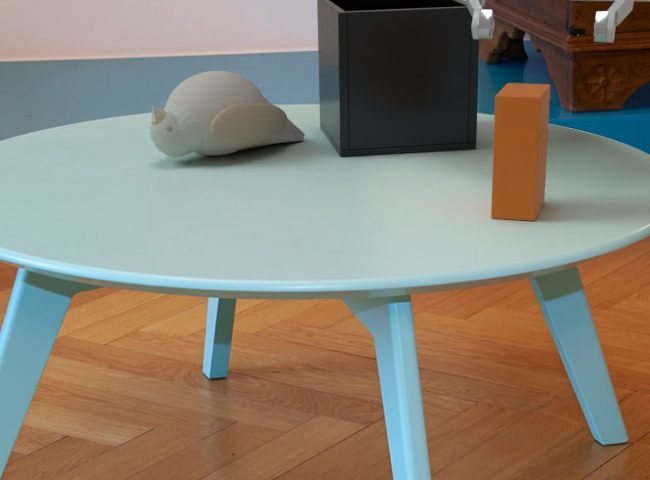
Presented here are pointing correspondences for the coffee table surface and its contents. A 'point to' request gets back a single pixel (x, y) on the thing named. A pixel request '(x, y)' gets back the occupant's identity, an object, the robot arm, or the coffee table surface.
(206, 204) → the coffee table surface
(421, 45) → the dark grey square box
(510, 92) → the orange tall block
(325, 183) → the coffee table surface
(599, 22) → the robot arm
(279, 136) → the decorative bird
